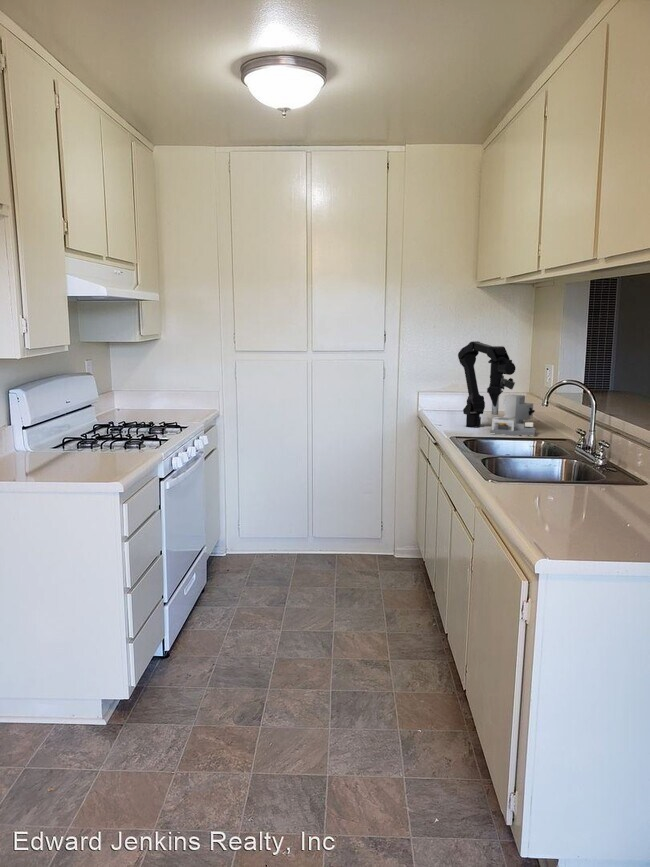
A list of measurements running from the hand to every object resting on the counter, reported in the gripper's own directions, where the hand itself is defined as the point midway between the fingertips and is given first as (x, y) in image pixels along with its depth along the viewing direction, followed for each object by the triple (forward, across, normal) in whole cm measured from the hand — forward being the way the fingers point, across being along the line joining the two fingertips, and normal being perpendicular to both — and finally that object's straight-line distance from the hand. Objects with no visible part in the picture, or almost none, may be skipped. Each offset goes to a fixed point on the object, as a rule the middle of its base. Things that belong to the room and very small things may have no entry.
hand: (495, 406), depth 309 cm
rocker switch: (+9, +1, -16) cm, 18 cm away
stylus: (+4, 0, 0) cm, 4 cm away
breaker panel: (+13, +1, -8) cm, 15 cm away
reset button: (+10, +1, -4) cm, 11 cm away
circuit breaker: (+13, +23, -10) cm, 28 cm away
